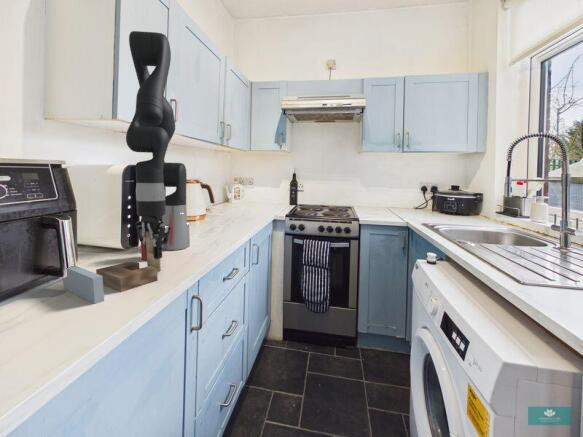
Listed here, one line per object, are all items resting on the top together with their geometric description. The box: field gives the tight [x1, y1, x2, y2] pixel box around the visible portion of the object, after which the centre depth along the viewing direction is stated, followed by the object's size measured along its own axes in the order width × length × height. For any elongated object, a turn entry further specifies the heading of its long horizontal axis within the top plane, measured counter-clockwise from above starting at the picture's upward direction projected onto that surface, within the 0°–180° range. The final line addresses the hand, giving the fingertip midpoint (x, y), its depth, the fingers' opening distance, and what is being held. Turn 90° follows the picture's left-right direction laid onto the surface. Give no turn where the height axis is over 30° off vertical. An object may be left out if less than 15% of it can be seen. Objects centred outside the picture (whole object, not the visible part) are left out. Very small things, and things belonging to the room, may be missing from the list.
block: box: [95, 260, 158, 293], centre depth 82 cm, size 10×12×4 cm
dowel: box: [146, 231, 162, 273], centre depth 88 cm, size 4×4×12 cm
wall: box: [62, 264, 105, 305], centre depth 72 cm, size 2×16×6 cm, turn 58°
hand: (153, 257), depth 88 cm, fingers closed on dowel, 3 cm apart
